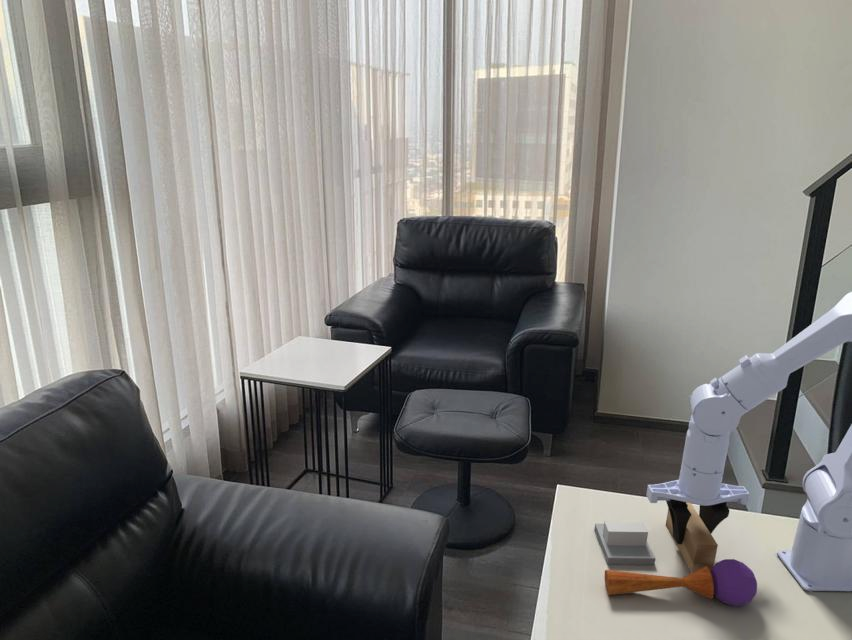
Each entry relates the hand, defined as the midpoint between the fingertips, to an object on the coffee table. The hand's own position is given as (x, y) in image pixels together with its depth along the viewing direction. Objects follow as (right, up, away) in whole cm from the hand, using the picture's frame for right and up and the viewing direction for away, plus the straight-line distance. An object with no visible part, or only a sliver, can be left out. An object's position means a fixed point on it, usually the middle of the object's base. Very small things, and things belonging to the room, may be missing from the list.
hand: (689, 540), depth 98 cm
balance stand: (-10, -1, 0) cm, 10 cm away
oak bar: (0, -1, 0) cm, 1 cm away
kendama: (-5, -5, -9) cm, 11 cm away
